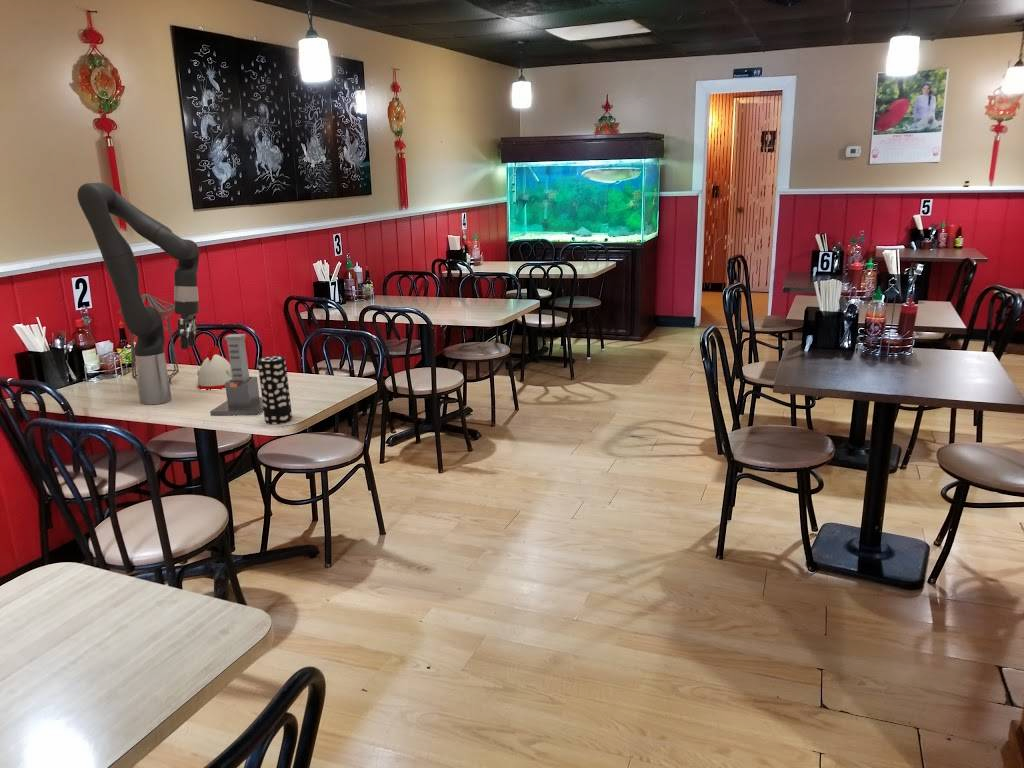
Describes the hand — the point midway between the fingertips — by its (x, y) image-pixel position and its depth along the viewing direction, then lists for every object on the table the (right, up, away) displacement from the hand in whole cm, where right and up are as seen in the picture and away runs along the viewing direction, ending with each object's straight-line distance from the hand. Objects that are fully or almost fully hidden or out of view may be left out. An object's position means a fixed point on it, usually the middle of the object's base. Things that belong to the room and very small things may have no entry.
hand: (188, 347), depth 259 cm
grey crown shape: (0, -13, +27) cm, 30 cm away
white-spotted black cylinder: (+36, -24, -18) cm, 47 cm away
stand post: (+21, -19, -5) cm, 28 cm away
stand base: (+21, -21, -4) cm, 30 cm away
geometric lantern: (-23, -13, +29) cm, 40 cm away
